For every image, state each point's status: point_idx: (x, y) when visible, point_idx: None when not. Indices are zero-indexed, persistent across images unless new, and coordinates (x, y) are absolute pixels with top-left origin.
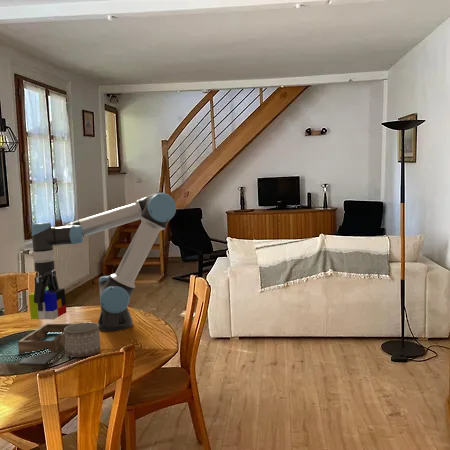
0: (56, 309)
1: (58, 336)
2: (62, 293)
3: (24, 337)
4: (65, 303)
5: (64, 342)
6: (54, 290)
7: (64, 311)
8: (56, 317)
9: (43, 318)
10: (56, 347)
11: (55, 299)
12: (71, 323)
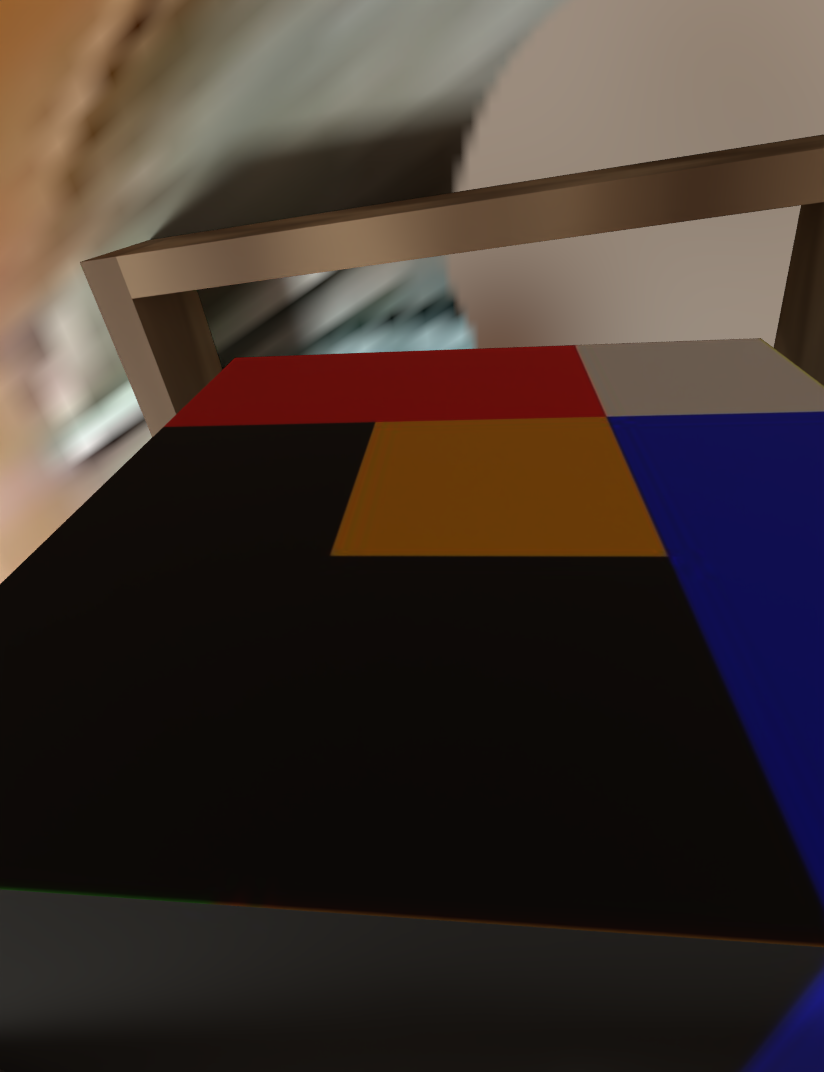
0: (661, 414)
1: (684, 203)
2: (111, 684)
3: None
4: (163, 440)
5: (544, 181)
6: (275, 1055)
7: (300, 368)
8: (648, 345)
9: None
10: (799, 142)
11: (793, 608)
12: (121, 357)
